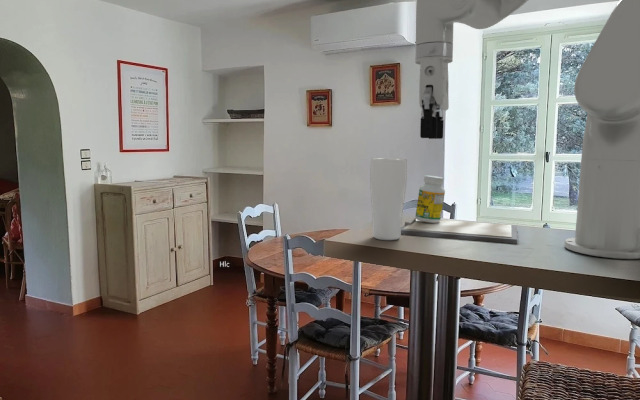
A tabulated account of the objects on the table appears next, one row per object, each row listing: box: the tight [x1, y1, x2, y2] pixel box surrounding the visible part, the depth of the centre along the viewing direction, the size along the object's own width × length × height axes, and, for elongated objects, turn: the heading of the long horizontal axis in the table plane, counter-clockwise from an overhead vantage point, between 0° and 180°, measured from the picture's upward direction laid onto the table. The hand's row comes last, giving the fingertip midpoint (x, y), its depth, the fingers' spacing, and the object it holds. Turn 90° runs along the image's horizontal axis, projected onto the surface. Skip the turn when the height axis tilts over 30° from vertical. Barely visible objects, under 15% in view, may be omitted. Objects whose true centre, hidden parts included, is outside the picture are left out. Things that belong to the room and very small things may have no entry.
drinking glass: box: [369, 157, 408, 241], centre depth 90 cm, size 7×7×15 cm
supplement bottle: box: [414, 174, 446, 223], centre depth 103 cm, size 5×5×10 cm
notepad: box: [401, 217, 518, 245], centre depth 98 cm, size 22×16×2 cm
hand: (432, 138), depth 101 cm, fingers open, 9 cm apart
